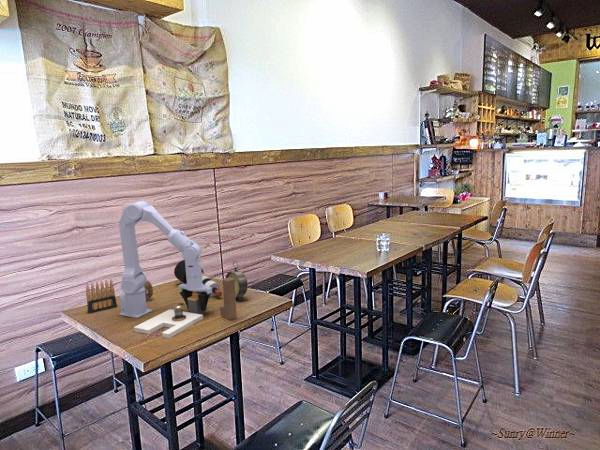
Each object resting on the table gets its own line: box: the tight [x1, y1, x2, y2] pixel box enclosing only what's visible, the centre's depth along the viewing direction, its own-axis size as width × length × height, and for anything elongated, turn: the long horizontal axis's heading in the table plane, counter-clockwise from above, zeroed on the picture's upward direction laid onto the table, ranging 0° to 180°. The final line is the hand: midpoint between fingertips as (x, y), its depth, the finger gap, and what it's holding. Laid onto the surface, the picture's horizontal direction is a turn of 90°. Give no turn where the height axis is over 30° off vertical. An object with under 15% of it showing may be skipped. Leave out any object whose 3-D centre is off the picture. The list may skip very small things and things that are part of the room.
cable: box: [173, 259, 223, 297], centre depth 193 cm, size 10×34×10 cm, turn 37°
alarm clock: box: [225, 260, 249, 302], centre depth 180 cm, size 11×5×16 cm, turn 42°
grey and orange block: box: [187, 293, 206, 315], centre depth 166 cm, size 4×5×7 cm
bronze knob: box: [170, 302, 186, 321], centre depth 157 cm, size 5×5×5 cm
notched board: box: [133, 308, 204, 339], centre depth 156 cm, size 16×18×2 cm
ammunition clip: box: [85, 278, 118, 315], centre depth 173 cm, size 11×2×12 cm, turn 128°
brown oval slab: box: [144, 280, 154, 300], centre depth 186 cm, size 15×3×8 cm, turn 59°
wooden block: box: [219, 277, 238, 321], centre depth 160 cm, size 7×3×15 cm, turn 40°
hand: (196, 309), depth 167 cm, fingers open, 6 cm apart
